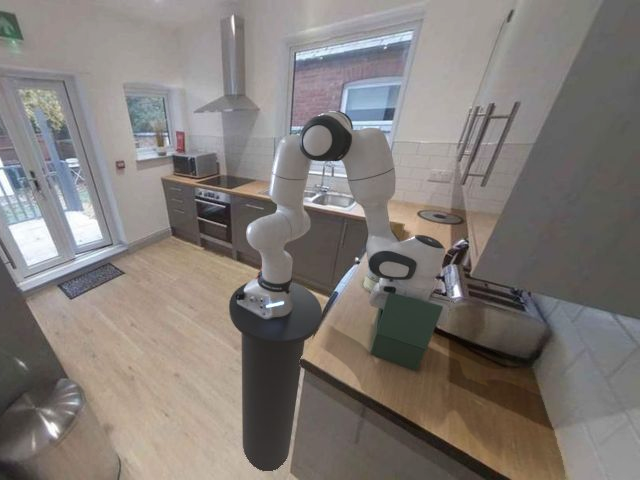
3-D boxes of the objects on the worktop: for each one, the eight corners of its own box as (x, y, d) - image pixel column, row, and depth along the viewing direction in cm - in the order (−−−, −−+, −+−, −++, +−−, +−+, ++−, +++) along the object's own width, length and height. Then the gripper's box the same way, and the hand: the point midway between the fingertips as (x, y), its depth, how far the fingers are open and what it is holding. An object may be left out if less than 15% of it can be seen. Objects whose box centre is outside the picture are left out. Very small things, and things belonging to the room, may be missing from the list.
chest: (373, 326, 92) (378, 307, 88) (413, 339, 86) (421, 319, 83) (370, 354, 81) (376, 333, 77) (416, 371, 76) (425, 350, 72)
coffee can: (363, 278, 119) (369, 252, 113) (387, 283, 115) (396, 256, 109) (362, 291, 111) (369, 263, 104) (389, 297, 107) (398, 268, 101)
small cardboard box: (379, 224, 178) (381, 216, 175) (403, 228, 171) (406, 220, 168) (371, 243, 152) (373, 233, 149) (399, 249, 145) (402, 239, 142)
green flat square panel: (388, 291, 72) (388, 293, 72) (442, 305, 67) (443, 307, 66) (376, 332, 78) (376, 333, 77) (425, 348, 72) (426, 350, 71)
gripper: (454, 292, 72) (438, 328, 78) (375, 274, 81) (366, 307, 87) (459, 305, 67) (441, 343, 74) (374, 284, 76) (364, 319, 83)
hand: (400, 323), depth 81 cm, fingers closed on block, 4 cm apart
